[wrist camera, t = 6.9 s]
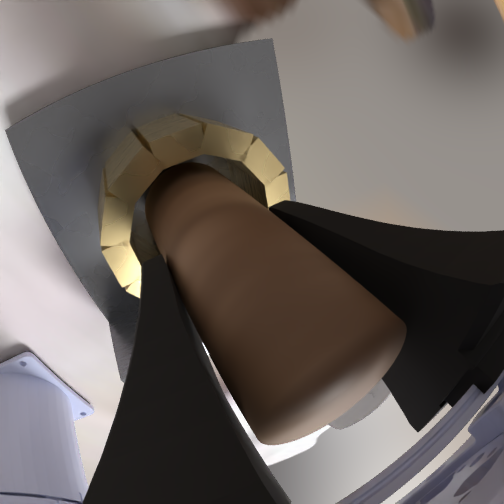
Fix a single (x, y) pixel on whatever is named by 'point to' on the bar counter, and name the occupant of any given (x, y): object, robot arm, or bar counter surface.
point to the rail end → (269, 305)
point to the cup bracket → (150, 160)
